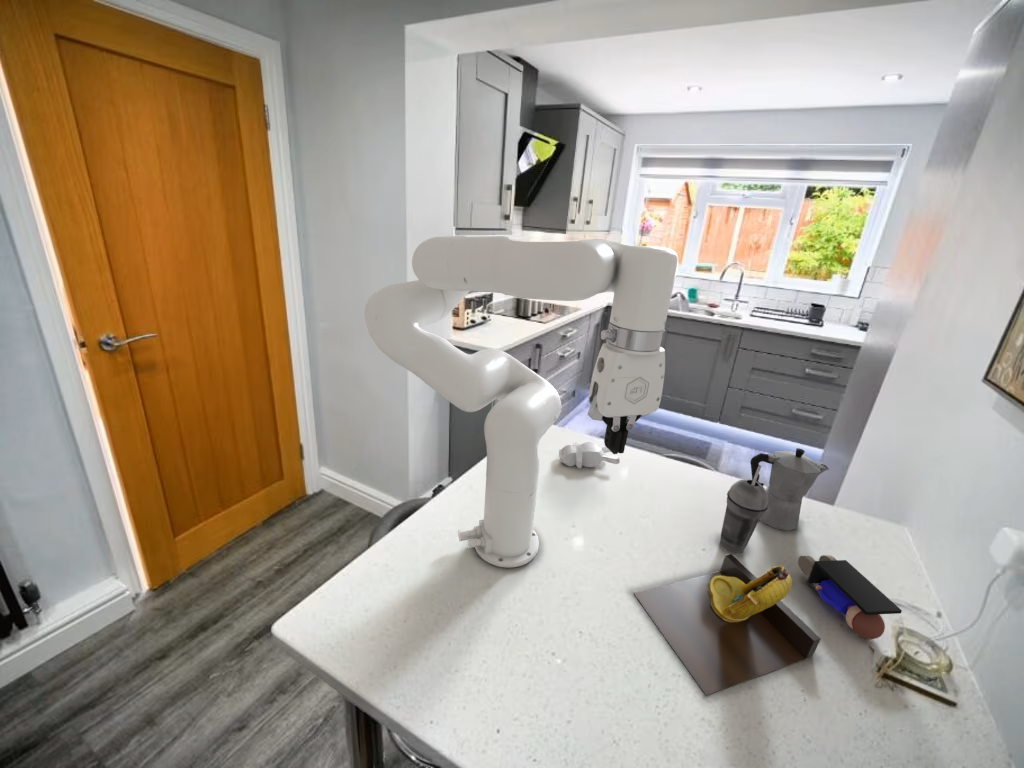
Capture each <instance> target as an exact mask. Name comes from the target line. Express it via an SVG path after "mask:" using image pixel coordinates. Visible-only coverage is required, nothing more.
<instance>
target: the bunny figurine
mask: <svg viewBox="0 0 1024 768" xmlns="http://www.w3.org/2000/svg"><path fill="white" fill-rule="evenodd" d="M610 452H611V451H610V450H609V449H608V448H607V447H606V446H603V447H600V446H599V445H598V444H597V442H592V441H590V442H589V441H588V442H584V443H581V444H579V443H578V442H573V443H572V444H566V445H565V446H563V447H562V448H561V449H558V456H559V457H558V458H559V462H560V463H563V464H564V465H565V466H568V467H574V466H576V467H577V469H582V468H583V467H585V468H596V467H597V468H598V467H599V466H600V465H601V464H602V463H603V462H607V463H610V464H613V465H619V464H620V461H621V460H620V459H621V458H620V457H619V456H617V455H614V454H613V455H611V454H606V453H610ZM611 453H612V452H611Z"/></svg>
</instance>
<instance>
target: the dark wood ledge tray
mask: <svg viewBox="0 0 1024 768" xmlns="http://www.w3.org/2000/svg"><path fill="white" fill-rule="evenodd" d="M720 575H721V576H727V577H736V578H738V579H740V580H741V581H743V582H744V583H745V584H748V583H749V582H750V581H754V580H755V579H757V578H758V577H756V575H754V574H753V573H752V571H750V570H749V568H747V567H746V566H745V565H744V564H743V563H742V562H741V561H739V559H737V558H736V557H735V556H734V555H733V553H730V554H726V555H724V559H723V562H722V564H721V568H720V570H719V571H716V572H711V573H708V574H704V575H699V576H695V577H691V578H688V579H683V580H680V581H675V582H672V583H668V584H667V583H666V584H664V585H663V584H662V585H660V586H656V587H652V588H648V589H643V590H640V591H636V592H633V595H634V596H635V598H636V599H637V601H638V602H639V603H640V604H641V606H642V607H643V609H644V611H645V612H646V613H647V614H648V616H649V617H650V619H651V621H652V622H653V623H654V624H655V626H656V627H657V629H658V630H659V631H660V633H661V635H662V636H663V638H664V639H665V640H666V641H667V643H668V644H669V646H670V647H671V648H672V650H673V651H674V653H675V654H676V655H677V657H678V658H679V660H680V662H681V663H682V664H683V665H684V667H685V668H686V670H687V671H688V672H689V674H690V675H691V676H692V678H693V680H694V681H695V683H696V684H697V685H698V686H699V688H700V689H701V691H702V692H703V694H704V695H705V696H710V695H711V694H714V693H717V692H721V691H722V690H725V689H728V688H731V687H734V686H737V685H739V684H742V683H744V682H747V681H751V680H753V679H756V678H758V677H761V676H764V675H767V674H769V673H773V672H774V671H778V670H780V669H783V668H786V667H788V666H791V665H795V664H796V663H800V662H803V661H805V660H808V659H810V658H813V656H814V655H815V652H816V650H817V648H818V646H819V644H820V642H821V641H822V638H821V637H820V636H819V635H818V634H817V633H816V632H814V631H813V630H812V629H811V628H810V627H809V626H808V625H807V624H806V623H805V622H804V621H803V620H802V619H801V618H800V617H799V616H798V615H796V613H795V612H794V611H792V610H791V609H790V608H789V607H788V606H787V605H786V604H785V603H784V602H783V601H782V600H781V601H779V602H778V603H776V604H774V605H773V606H771V607H769V608H767V609H765V610H763V611H761V612H758V613H756V614H754V615H751V616H750V617H749V618H747V619H746V620H745V621H743V622H741V623H738V624H733V623H726V622H723V621H721V620H719V619H718V618H717V617H716V615H715V614H714V613H713V611H712V610H711V608H710V605H711V603H710V597H709V594H708V584H709V582H710V580H711V578H712V577H714V576H720Z"/></svg>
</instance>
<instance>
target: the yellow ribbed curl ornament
mask: <svg viewBox="0 0 1024 768" xmlns="http://www.w3.org/2000/svg"><path fill="white" fill-rule="evenodd" d="M756 578H757V579H755V580H754V581H750V582H749V583H748V584H745V583H744V582H743V581H741V580H740V579H738V578H736V577H727V576H721V575H720V576H714V577H712V578H711V580H710V582H709V584H708V594H709V597H710V603H711V605H710V608H711V610H712V611H713V613H714V614H715V615H716V617H717V618H718V619H719V620H721V621H723V622H726V623H733V624H738V623H741V622H743V621H745V620H746V619H747V618H749V617H750V616H751V615H754V614H756V613H758V612H761V611H763V610H765V609H767V608H769V607H771V606H773V605H774V604H776V603H778V602H779V601H782V600H783V599H785V598H786V597H787V595H788V593H789V592H790V591H791V588H792V584H793V579H792V576H791V575H790V573H789V571H788V570H787V569H786V568H785V567H784V566H783V565H777V566H774V565H772V566H771V567H770V569H769V570H767V571H766V572H765V573H764V574H762V575H760V576H759V577H756Z"/></svg>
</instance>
